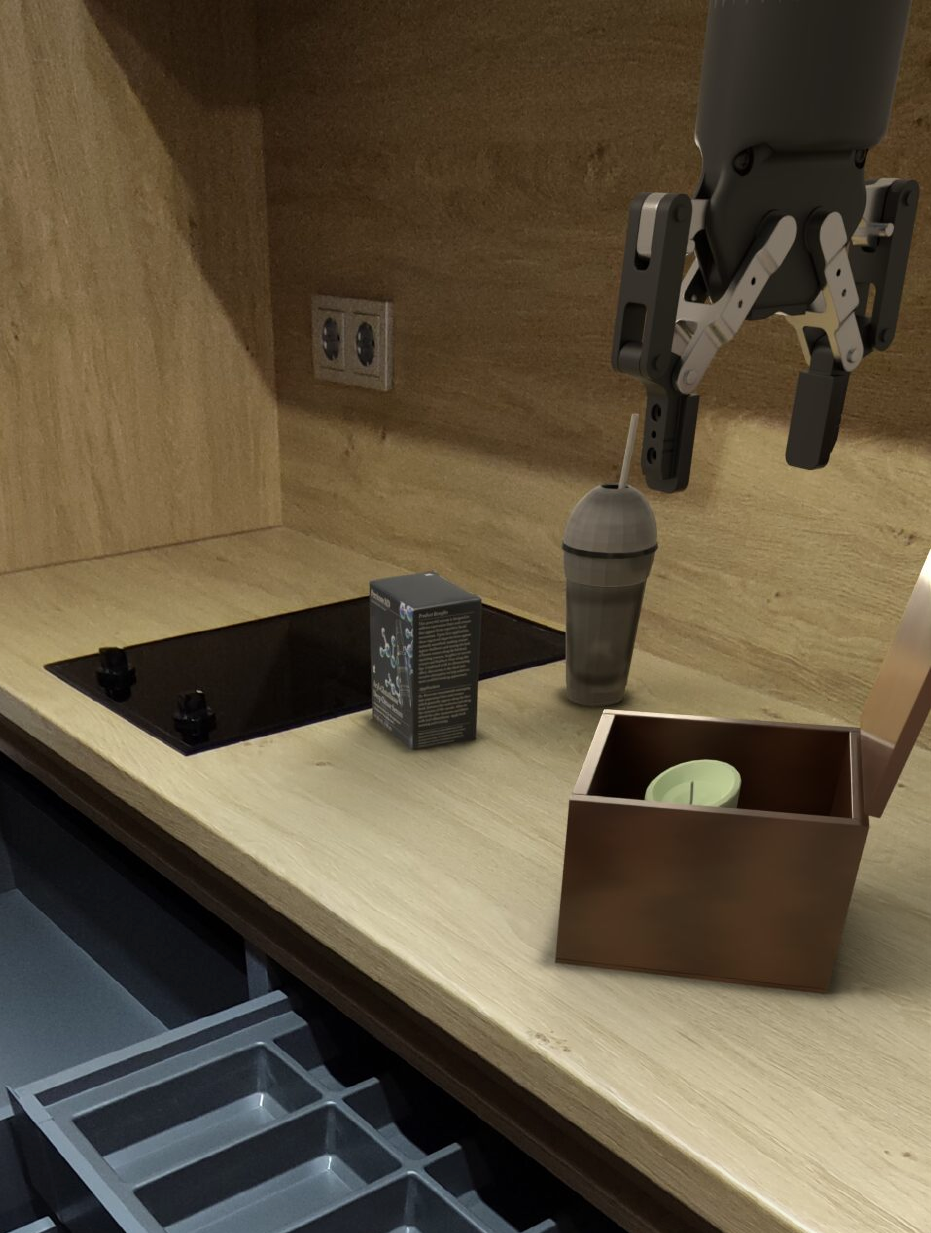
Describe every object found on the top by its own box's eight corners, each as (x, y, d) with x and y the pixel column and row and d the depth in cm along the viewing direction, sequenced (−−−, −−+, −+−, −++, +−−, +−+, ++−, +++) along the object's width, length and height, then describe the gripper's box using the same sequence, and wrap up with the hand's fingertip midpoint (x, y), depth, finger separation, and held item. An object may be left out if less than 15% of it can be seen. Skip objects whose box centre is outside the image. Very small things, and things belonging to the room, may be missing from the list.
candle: (674, 942, 70) (697, 799, 64) (612, 909, 73) (629, 770, 68) (735, 916, 72) (762, 776, 67) (672, 885, 75) (693, 749, 70)
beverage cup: (588, 682, 105) (614, 400, 92) (657, 702, 101) (695, 410, 88) (531, 703, 102) (549, 413, 88) (600, 725, 98) (630, 424, 84)
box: (370, 725, 99) (367, 579, 92) (434, 713, 100) (436, 569, 93) (411, 758, 93) (411, 606, 86) (478, 746, 95) (484, 595, 88)
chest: (553, 971, 69) (569, 799, 63) (587, 866, 79) (604, 708, 73) (824, 1002, 66) (869, 826, 60) (825, 890, 76) (864, 727, 70)
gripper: (735, -28, 42) (670, 515, 53) (1023, -24, 47) (909, 472, 58) (600, -9, 47) (565, 485, 58) (873, -7, 52) (794, 447, 63)
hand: (737, 478), depth 58 cm, fingers open, 8 cm apart
